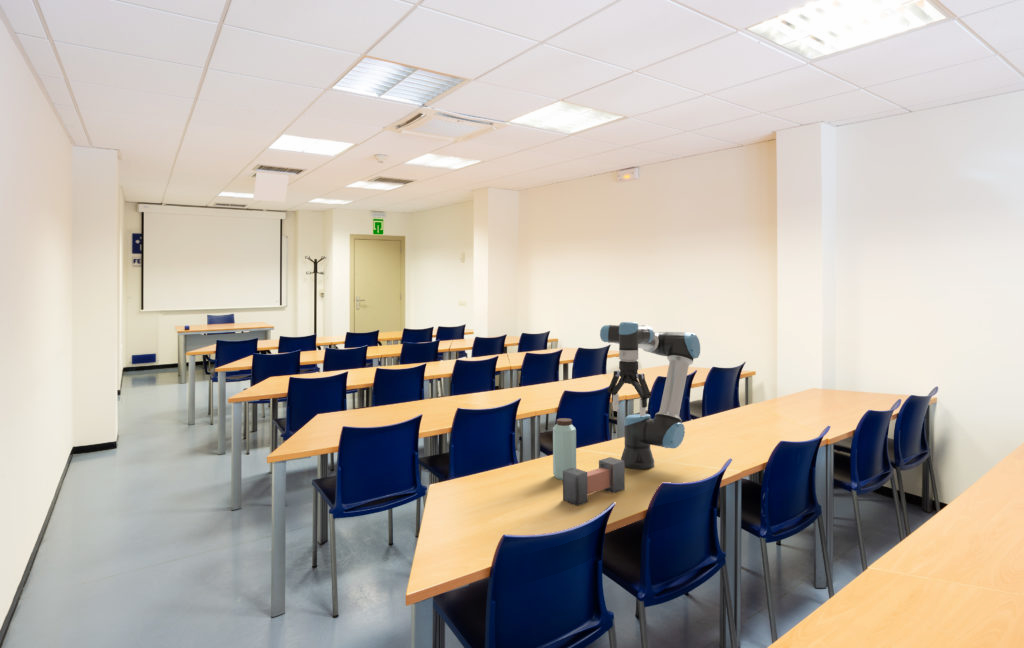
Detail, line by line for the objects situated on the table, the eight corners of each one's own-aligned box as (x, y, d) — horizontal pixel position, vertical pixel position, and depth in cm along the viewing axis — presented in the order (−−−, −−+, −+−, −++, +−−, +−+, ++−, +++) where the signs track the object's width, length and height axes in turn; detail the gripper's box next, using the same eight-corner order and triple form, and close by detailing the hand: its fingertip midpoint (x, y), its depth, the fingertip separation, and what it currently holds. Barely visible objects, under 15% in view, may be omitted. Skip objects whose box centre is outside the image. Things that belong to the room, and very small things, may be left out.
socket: (573, 496, 212) (573, 467, 212) (587, 502, 207) (587, 472, 206) (563, 500, 209) (562, 470, 208) (576, 505, 203) (576, 475, 202)
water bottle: (575, 481, 230) (574, 422, 229) (551, 480, 232) (551, 422, 231) (577, 474, 240) (576, 417, 239) (554, 472, 242) (554, 417, 241)
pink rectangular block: (602, 484, 220) (602, 466, 220) (609, 487, 217) (609, 469, 217) (570, 494, 209) (570, 476, 208) (577, 497, 206) (577, 478, 205)
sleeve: (610, 484, 226) (610, 457, 225) (624, 489, 220) (624, 461, 219) (599, 488, 221) (598, 460, 221) (613, 493, 216) (612, 464, 215)
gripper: (599, 358, 226) (599, 409, 227) (648, 363, 207) (648, 419, 208) (611, 357, 231) (611, 407, 232) (660, 362, 212) (660, 416, 213)
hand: (628, 412), depth 220 cm, fingers open, 13 cm apart
